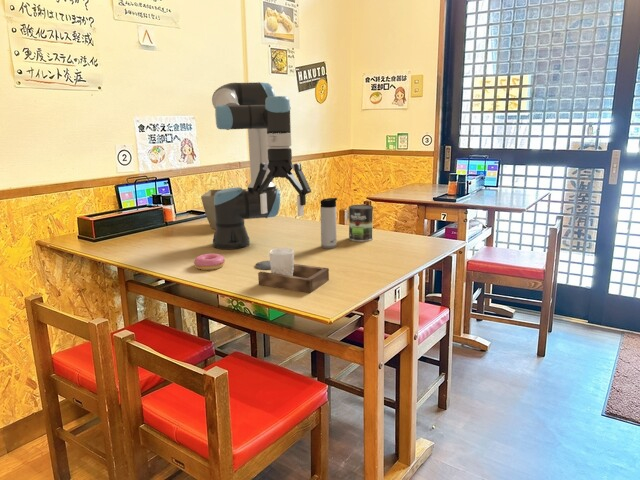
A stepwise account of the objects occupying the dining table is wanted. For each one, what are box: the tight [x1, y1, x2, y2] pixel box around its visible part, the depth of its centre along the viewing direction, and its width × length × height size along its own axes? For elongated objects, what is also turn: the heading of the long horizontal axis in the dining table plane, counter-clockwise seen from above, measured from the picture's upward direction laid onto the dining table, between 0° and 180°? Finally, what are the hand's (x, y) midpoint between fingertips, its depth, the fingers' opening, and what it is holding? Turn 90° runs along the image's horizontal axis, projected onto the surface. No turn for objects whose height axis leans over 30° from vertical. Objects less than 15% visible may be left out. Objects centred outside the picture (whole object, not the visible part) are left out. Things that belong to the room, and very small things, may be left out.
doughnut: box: [193, 253, 226, 271], centre depth 176 cm, size 11×11×4 cm
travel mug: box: [320, 197, 338, 250], centre depth 197 cm, size 6×7×20 cm
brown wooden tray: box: [257, 263, 330, 294], centre depth 157 cm, size 18×13×4 cm
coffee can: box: [348, 204, 374, 243], centre depth 209 cm, size 10×10×14 cm
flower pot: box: [200, 188, 248, 230], centre depth 237 cm, size 19×19×17 cm
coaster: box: [255, 260, 271, 271], centre depth 176 cm, size 9×9×1 cm
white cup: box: [269, 247, 295, 276], centre depth 158 cm, size 8×8×10 cm
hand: (282, 214), depth 159 cm, fingers open, 13 cm apart
